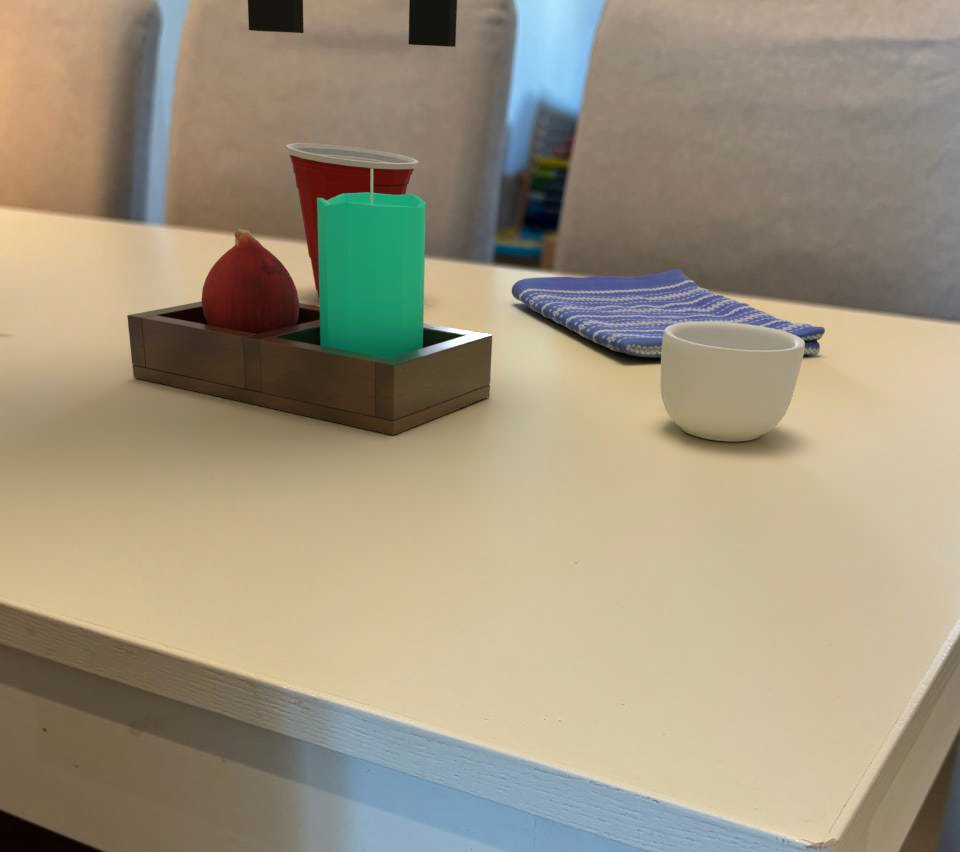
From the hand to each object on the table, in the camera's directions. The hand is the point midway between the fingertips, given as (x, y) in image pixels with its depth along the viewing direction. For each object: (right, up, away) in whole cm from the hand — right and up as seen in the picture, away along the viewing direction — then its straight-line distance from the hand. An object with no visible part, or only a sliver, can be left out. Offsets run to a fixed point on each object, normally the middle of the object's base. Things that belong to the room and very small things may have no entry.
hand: (361, 40), depth 58 cm
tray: (-4, -16, +10) cm, 19 cm away
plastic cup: (-5, -2, +38) cm, 38 cm away
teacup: (+20, -19, +7) cm, 28 cm away
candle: (0, -16, +8) cm, 18 cm away
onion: (-8, -14, +12) cm, 20 cm away
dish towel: (+20, -6, +32) cm, 39 cm away
